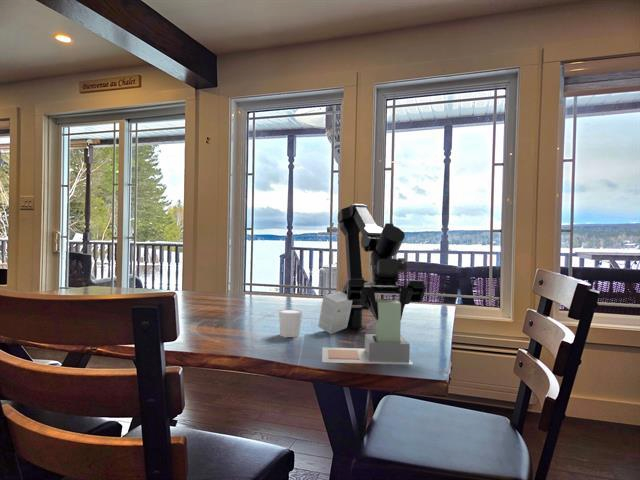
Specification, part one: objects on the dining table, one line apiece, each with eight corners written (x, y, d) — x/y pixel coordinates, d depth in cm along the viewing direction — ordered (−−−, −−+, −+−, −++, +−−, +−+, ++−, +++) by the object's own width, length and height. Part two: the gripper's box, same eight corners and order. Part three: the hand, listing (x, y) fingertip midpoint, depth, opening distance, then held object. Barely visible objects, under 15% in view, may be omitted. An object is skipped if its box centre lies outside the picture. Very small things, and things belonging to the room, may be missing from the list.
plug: (375, 340, 95) (376, 299, 95) (396, 341, 95) (396, 300, 95) (378, 346, 90) (379, 302, 90) (400, 347, 90) (401, 303, 90)
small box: (334, 320, 126) (340, 290, 123) (347, 328, 123) (353, 297, 120) (317, 326, 120) (322, 295, 117) (330, 334, 117) (336, 302, 114)
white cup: (303, 333, 118) (303, 309, 118) (299, 338, 111) (300, 314, 111) (280, 332, 119) (281, 308, 119) (275, 337, 112) (276, 313, 112)
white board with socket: (322, 351, 99) (322, 331, 99) (402, 353, 98) (402, 333, 98) (322, 366, 87) (322, 343, 87) (412, 368, 86) (413, 346, 86)
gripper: (348, 245, 97) (350, 297, 85) (424, 247, 96) (436, 299, 85) (346, 275, 104) (347, 325, 93) (416, 276, 104) (426, 327, 93)
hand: (388, 319), depth 91 cm, fingers closed on plug, 5 cm apart
